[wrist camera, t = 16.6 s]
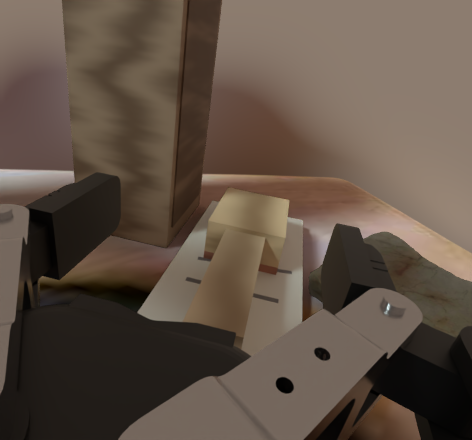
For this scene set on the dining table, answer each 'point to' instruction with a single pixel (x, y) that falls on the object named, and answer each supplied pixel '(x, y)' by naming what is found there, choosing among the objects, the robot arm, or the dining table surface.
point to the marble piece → (419, 284)
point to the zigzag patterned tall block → (142, 104)
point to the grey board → (264, 297)
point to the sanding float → (238, 258)
